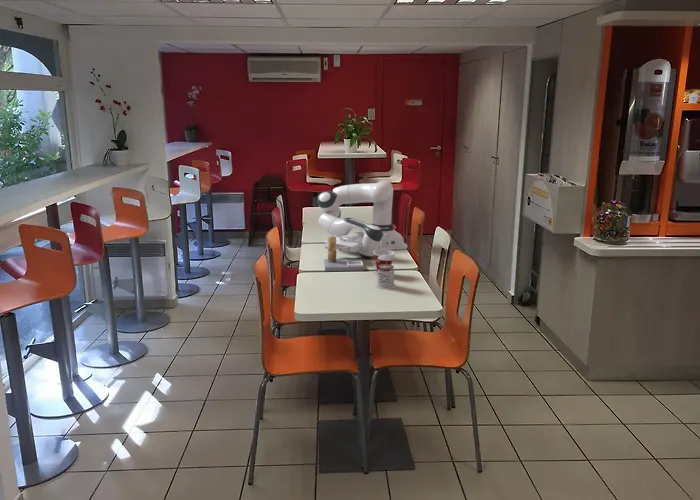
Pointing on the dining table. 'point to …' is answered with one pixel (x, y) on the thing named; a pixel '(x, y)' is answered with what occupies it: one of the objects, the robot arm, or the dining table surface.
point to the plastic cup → (377, 254)
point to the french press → (387, 282)
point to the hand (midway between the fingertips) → (333, 248)
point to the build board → (344, 265)
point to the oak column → (331, 249)
